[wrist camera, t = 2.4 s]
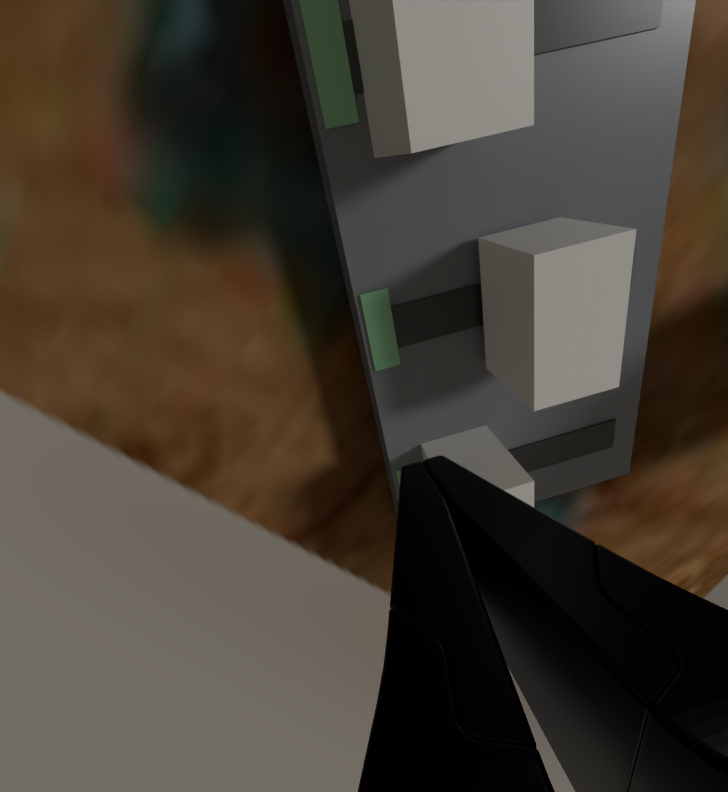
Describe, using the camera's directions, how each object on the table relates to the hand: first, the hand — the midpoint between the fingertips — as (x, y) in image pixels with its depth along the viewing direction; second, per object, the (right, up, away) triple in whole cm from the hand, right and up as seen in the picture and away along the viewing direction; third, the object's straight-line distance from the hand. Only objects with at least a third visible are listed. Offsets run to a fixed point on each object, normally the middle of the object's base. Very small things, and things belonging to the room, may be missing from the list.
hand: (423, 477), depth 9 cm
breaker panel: (+4, +6, +9) cm, 12 cm away
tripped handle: (+5, +5, +7) cm, 10 cm away
